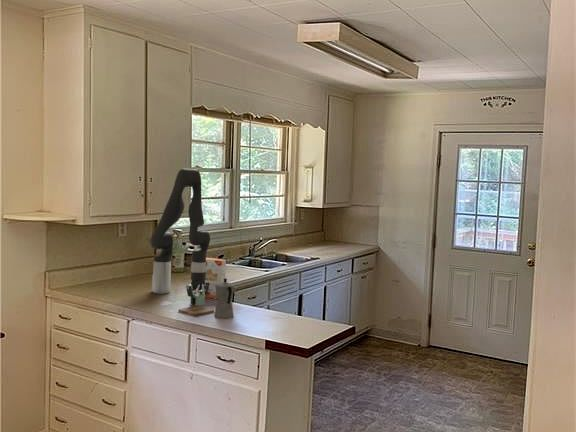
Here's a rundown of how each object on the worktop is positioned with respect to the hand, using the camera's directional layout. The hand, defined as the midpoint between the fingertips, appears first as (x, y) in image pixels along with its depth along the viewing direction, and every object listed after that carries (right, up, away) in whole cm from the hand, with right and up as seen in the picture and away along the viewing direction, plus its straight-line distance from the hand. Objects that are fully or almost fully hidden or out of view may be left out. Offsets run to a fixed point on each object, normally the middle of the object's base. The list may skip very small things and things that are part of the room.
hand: (197, 303), depth 288 cm
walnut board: (+2, -2, -14) cm, 14 cm away
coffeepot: (+16, -3, -20) cm, 26 cm away
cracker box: (+4, 0, +18) cm, 19 cm away
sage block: (0, 0, 0) cm, 0 cm away
